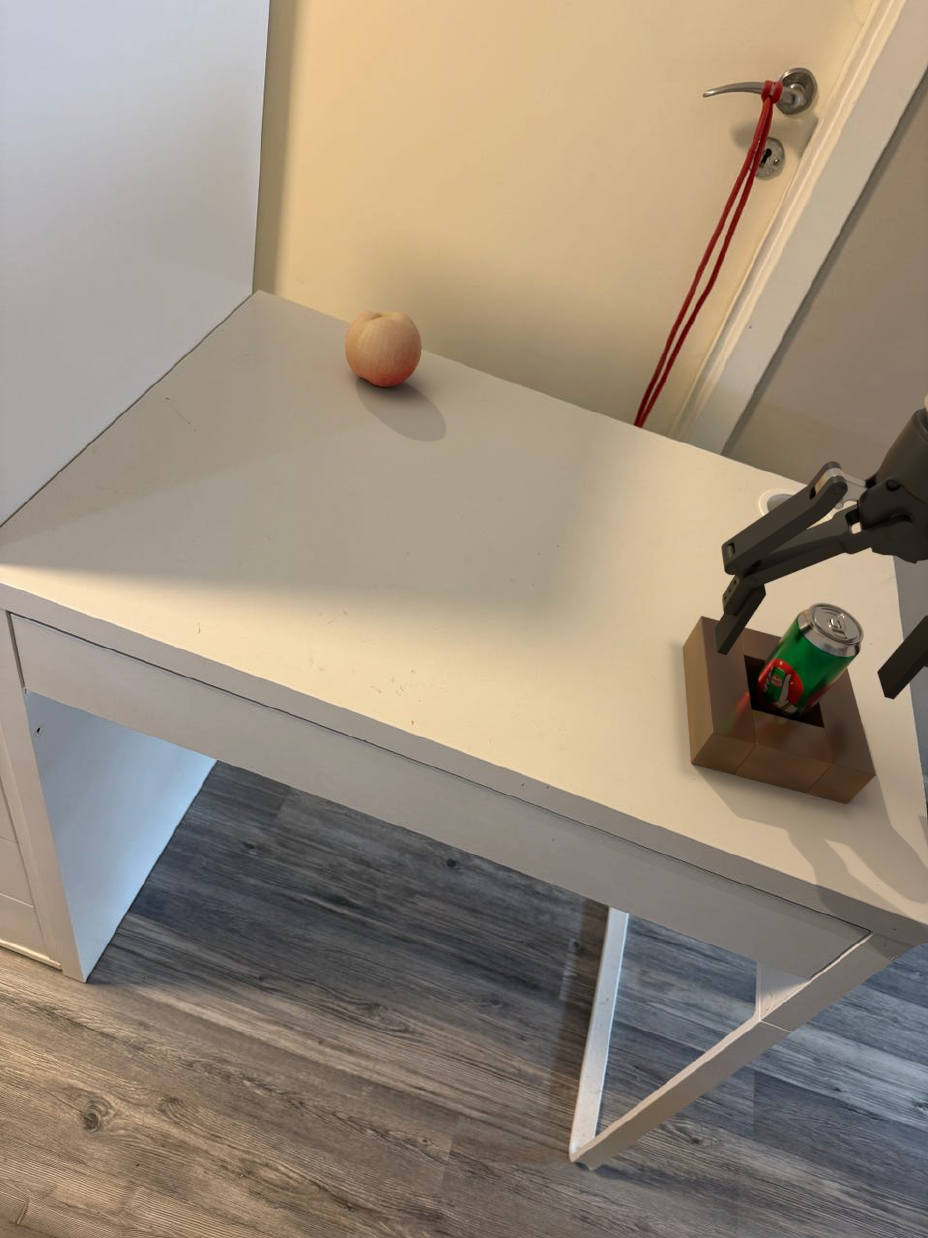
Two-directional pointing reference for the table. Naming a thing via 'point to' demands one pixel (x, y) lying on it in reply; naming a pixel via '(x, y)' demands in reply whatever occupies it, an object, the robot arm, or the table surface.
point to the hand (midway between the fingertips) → (803, 664)
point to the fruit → (383, 347)
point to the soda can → (806, 662)
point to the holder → (770, 722)
